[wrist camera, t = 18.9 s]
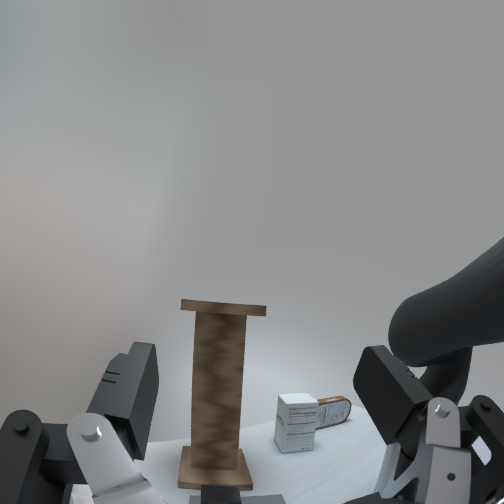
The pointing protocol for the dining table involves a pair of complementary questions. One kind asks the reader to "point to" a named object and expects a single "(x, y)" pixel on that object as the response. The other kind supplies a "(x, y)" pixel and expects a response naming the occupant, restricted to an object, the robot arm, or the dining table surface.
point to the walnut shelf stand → (217, 396)
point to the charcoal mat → (249, 499)
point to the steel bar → (220, 494)
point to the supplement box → (295, 422)
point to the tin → (332, 411)
